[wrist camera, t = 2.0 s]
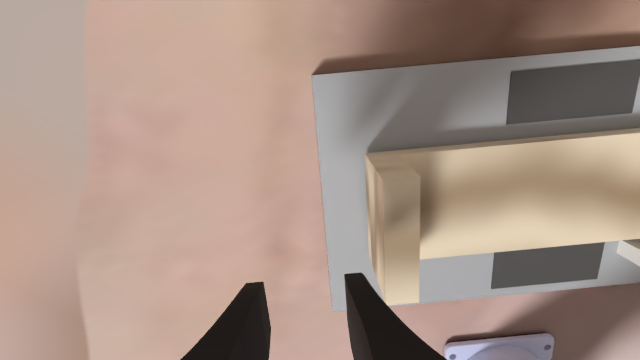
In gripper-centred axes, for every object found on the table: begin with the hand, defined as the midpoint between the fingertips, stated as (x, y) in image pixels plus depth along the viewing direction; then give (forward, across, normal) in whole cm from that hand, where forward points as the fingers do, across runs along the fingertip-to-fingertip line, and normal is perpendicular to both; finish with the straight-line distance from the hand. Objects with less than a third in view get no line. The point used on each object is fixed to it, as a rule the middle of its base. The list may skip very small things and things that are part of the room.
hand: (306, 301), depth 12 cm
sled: (+8, -14, 0) cm, 16 cm away
